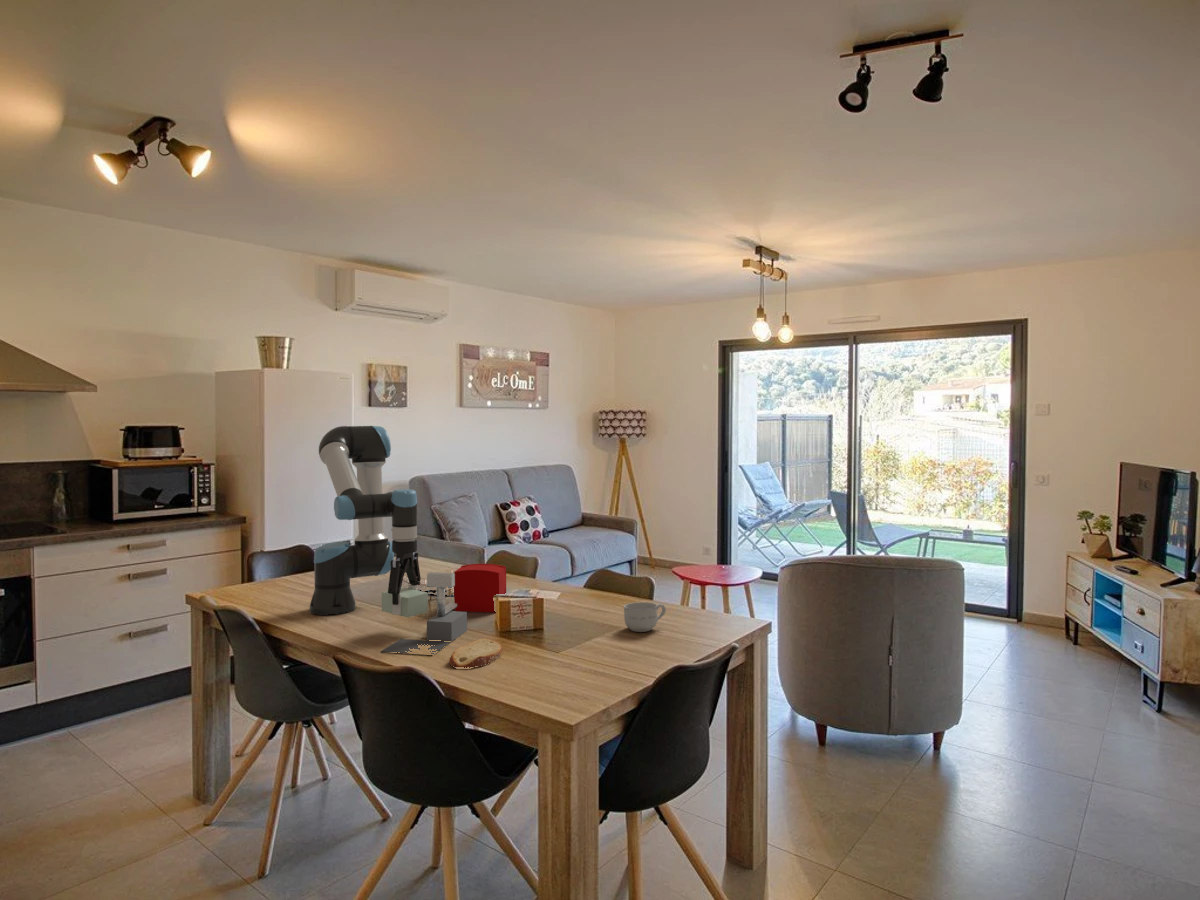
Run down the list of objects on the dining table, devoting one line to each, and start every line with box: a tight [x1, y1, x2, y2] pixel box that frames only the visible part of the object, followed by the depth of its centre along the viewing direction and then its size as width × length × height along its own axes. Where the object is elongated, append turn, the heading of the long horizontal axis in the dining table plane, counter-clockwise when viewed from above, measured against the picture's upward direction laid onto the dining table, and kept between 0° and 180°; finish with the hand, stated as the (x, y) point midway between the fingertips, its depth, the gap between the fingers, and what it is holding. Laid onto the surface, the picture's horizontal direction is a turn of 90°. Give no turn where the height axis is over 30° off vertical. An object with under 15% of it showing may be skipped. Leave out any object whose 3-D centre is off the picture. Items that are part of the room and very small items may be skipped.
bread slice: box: [448, 638, 504, 668], centre depth 200 cm, size 18×18×4 cm
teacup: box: [623, 601, 667, 633], centre depth 226 cm, size 14×11×8 cm
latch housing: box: [426, 610, 468, 642], centre depth 220 cm, size 8×12×6 cm, turn 168°
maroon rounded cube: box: [453, 563, 507, 613], centre depth 252 cm, size 16×11×15 cm
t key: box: [426, 571, 457, 616], centre depth 224 cm, size 11×8×13 cm
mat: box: [380, 638, 451, 654], centre depth 208 cm, size 16×12×1 cm
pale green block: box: [381, 586, 429, 618], centre depth 223 cm, size 12×8×6 cm, turn 57°
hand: (405, 609), depth 223 cm, fingers closed on pale green block, 10 cm apart
